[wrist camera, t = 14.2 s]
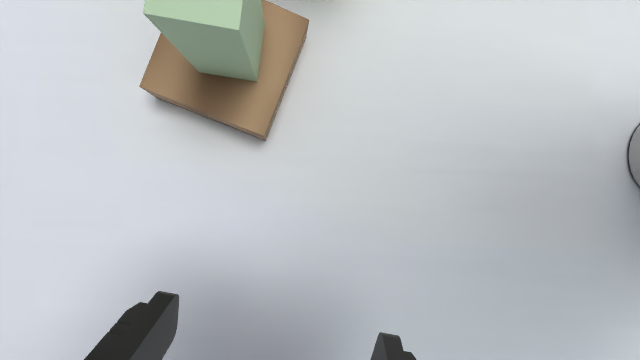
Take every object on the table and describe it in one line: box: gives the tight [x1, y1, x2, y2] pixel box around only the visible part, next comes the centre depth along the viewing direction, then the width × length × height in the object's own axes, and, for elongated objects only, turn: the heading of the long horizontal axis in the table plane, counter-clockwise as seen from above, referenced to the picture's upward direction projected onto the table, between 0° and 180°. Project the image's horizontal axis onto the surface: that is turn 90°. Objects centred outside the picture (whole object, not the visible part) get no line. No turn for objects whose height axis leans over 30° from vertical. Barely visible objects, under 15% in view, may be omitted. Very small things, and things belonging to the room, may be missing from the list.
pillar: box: [143, 0, 265, 82], centre depth 21 cm, size 4×4×10 cm
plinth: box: [139, 0, 309, 140], centre depth 28 cm, size 10×10×4 cm
